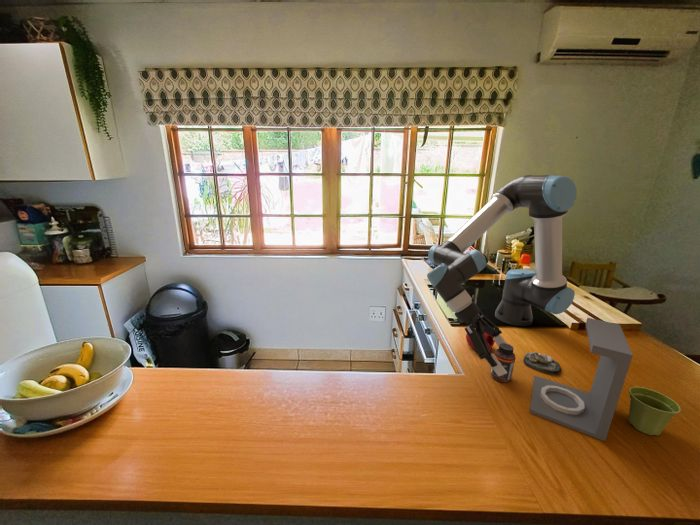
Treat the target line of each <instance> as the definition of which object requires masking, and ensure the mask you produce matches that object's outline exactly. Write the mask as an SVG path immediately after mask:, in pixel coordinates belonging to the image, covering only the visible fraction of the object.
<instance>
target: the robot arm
mask: <svg viewBox="0 0 700 525" xmlns="http://www.w3.org/2000/svg"><path fill="white" fill-rule="evenodd" d="M577 196H578V191H577V186H576V184H575V181H573V179H571V178H570V177H568V176H567V175H557V174H542V175H541V174H540V175H538V174H537V175H535V174H534V175H533V174H532V175H531V174H529V175H527V174H525V175H522V176H518V177H516V178H514V179H512V180H511V181H508V182H506V183H505V184H504V185H503V186H501V187H500V188H499V189H497V190H496V191H495V192H494V193H493V194H491V196H490V199H489V201H488V202H487V203H486V204H485V205H483V206H482V207H481V208H480V209H479V210H478V211H477V212H476V213H475V214H474V215H473V216H472V217H471V218H469V219H468V220H467V221H466V222H465V223H464V224H463V225H462V226H461V227H460V228H459V229H457V230H456V231H455V232H454V233H453V234H452V235H451V236H450V237H449V238H448V239H447V240H445V242H443V243H442V244H434V245H433V246H431V247H430V248H429V250H428V252H427V253H428V254H427V255H428V256H427V258H428V259H429V261H430V263H432V264H434V265H436V267H435V268H433V269H432V270H431V271H429V272H427V275H426V278H427V280H428V281H429V283H430V284H431V285H432V287H433V288H434V290H435V291H436V292H437V294H438V295H439V296H440V298H441V299H442V300H443V301H444V302H445V304H446V306H447V308H449V310H451V312H452V313H454V316H455V317H456V319H457V320H458V321H459V323H461V324H464V323H466V327H464V330H465V332H466V334H468V335H469V337H470V339H471V341H472V343H473V345H474V347H475V349H474V350H475V352H476V353H477V356H478V358H479V359H480V360H483V359H485V361H487V363H488V364H489V366H490V367H491V368H493V370H494V371H495V372H496V374H497V375H498V376H501V375H504V374H507V371H506V370H505V369H504V367H503V366H502V365H501V363H500V362H499V361H498V359H497V358H496V357H495V355H494V353H491V349H490V350H489V347H488V345H487V342H486V340H485V337H484V332H486V333H487V334H489V335H491V336H492V337H494V338H493V340H494V341H495V342H494V344H496V345H497V347H499V345H500V344H501V343H506V344H508V343H507V341H506V340H505V339H504V338H503V336H502V334H503V332H502V330H501V329H500V327H498V326H497V325H496V324H494V323H493V321H492V320H490V319H489V318H488V317H487V316H486V315H485V314H484V313H483V312H482V311H481V308H480V307H479V306H478V305H477V304H476V302H475V301H473V298H472V297H471V295H470V294H469V293H468V291H467V290H466V289H465V288H464V287H463V284H464V283H466V282H467V281H469V280H471V279H472V278H473V277H474V276H475V275H477V274H479V273H480V272H481V271H483V270H484V269H485V268H486V267H487V260H486V259H487V258H486V257H485V255H484V254H483V253H482V252H481V251H479V250H478V249H470V250H469V248H470V247H472V245H473V244H474V243H476V241H478V240H479V239H480V238H481V237H482V236H483V235H484V234H485V233H486V232H487V231H489V230H490V229H491V228H492V227H493V226H494V225H495V224H496V223H497V222H498V221H499V220H501V219H502V218H503V216H505V215H506V214H510V213H512V212H513V211H514V210H515V209H518V208H528V217H529V218H531V219H532V220H533V230H534V231H533V233H534V256H535V257H534V261H535V266H534V268H535V270H531V269H523V268H522V269H521V268H520V269H519V268H516V269H514V268H513V269H509V270H508V271H507V272H506V275H505V278H504V284H503V288H502V289H503V290H502V298H501V301H500V302H499V304H498V305H497V308H496V309H495V312H494V317H495V318H496V319H497V320H499V321H501V322H503V323H505V324H508V325H512V326H516V327H517V326H518V327H528V326H531V325H532V324H533V321H534V317H533V311H532V306H533V307H536V308H538V309H540V310H542V311H544V312H546V313H551V314H553V315H560V314H563V313H564V312H566V311H567V310H568V309H569V307H570V306H571V305H572V304H573V302H574V300H575V295H576V294H575V291H574V289H572V287H569V286H567V285H568V280H567V278H566V277H565V276H564V275H563V217H564V216H566V215H567V214H568V211H569V210H571V208H573V206H574V205H575V201H576V200H577ZM467 250H469V251H467ZM466 251H467V252H466ZM464 252H466V253H464Z"/></svg>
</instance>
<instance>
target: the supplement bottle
mask: <svg viewBox="0 0 700 525" xmlns="http://www.w3.org/2000/svg"><path fill="white" fill-rule="evenodd" d="M506 343H507V342H506ZM506 343H501V344H500V345H499V346H498V348H497V349H495V351H494V353H493V354H494V355H495V357H496V358H497V359H498V361H499V362H500V363H501V365H502V366H503V367H504V369H505V370H506V371H507V374H504V375H501V376H498V375H497V374H496V372H495V371H494V370H493V368H492V367H491V370H490V376H491V377H492V378H493V379H494V380H495V381H497V382H501V383H509V382H511V380H512V377H513V372H514V371H513V370H514V366H515V362H516V355H515V353H514V346H513V345H511V344H509V343H507V344H506Z"/></svg>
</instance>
